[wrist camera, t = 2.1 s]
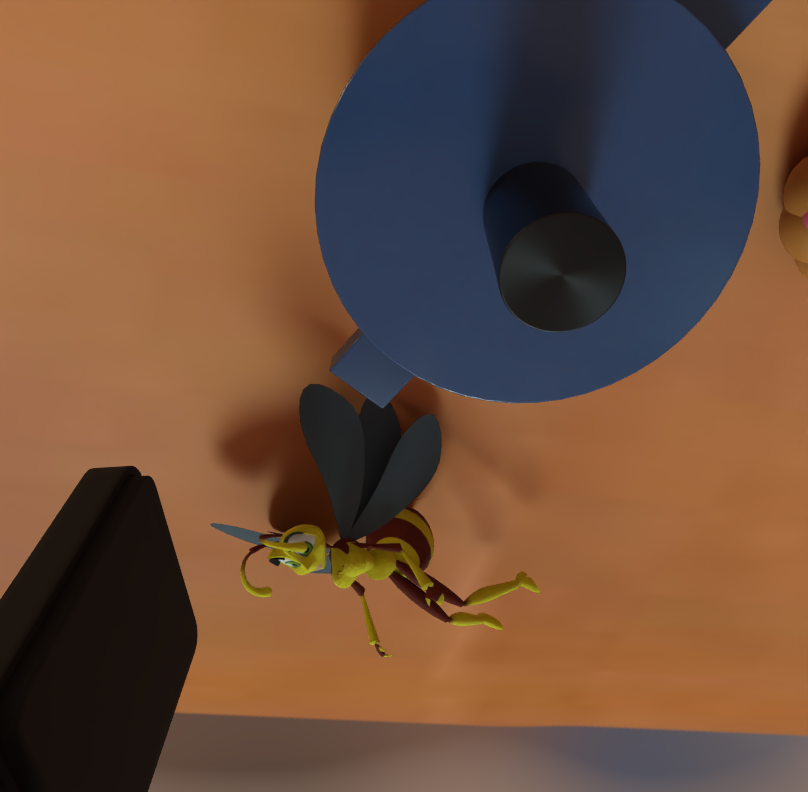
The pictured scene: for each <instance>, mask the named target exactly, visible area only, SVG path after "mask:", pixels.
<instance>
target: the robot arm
mask: <svg viewBox="0 0 808 792" xmlns="http://www.w3.org/2000/svg"><path fill="white" fill-rule="evenodd" d="M196 645H197V624H196V620H195V616H194V613H193V610H192V606H191V603H190V599H189V596H188V593H187V589H186V586H185V583H184V579H183V576H182V573H181V569H180V566H179V562H178V559H177V556H176V552H175V549H174V546H173V542H172V539H171V536H170V532H169V529H168V525H167V522H166V519H165V515H164V512H163V509H162V505H161V502H160V499H159V495H158V492H157V488H156V485H155V483H154V480H153V479H152V478H151V477H150V476H141V473H140V472H139V470H138V469H137V468H136V467H134V466H122V467H106V468H93V469H89V470H88V471H87V472H86V473H85V474H84V476H83V477H82V479H81V480H80V482H79V483H78V485H77V486H76V488H75V489H74V491H73V492H72V494H71V495H70V497H69V498H68V500H67V501H66V503H65V504H64V506H63V507H62V509H61V510H60V511H59V513H58V514H57V516H56V517H55V519H54V520H53V522H52V523H51V525H50V526H49V528H48V529H47V531H46V532H45V534H44V535H43V537H42V538H41V540H40V541H39V543H38V544H37V546H36V547H35V549H34V550H33V552H32V553H31V555H30V556H29V558H28V559H27V561H26V562H25V564H24V565H23V567H22V568H21V570H20V571H19V573H18V574H17V576H16V577H15V578H14V580H13V581H12V583H11V584H10V586H9V587H8V589H7V590H6V592H5V593H4V595H3V596H2V598H1V599H0V792H148V789H149V786H150V783H151V780H152V777H153V774H154V772H155V768H156V766H157V763H158V759H159V756H160V754H161V751H162V748H163V745H164V742H165V739H166V736H167V733H168V730H169V727H170V724H171V721H172V718H173V715H174V712H175V709H176V706H177V703H178V700H179V697H180V694H181V691H182V688H183V686H184V683H185V680H186V677H187V674H188V671H189V668H190V665H191V662H192V659H193V656H194V653H195V649H196Z"/></svg>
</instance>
